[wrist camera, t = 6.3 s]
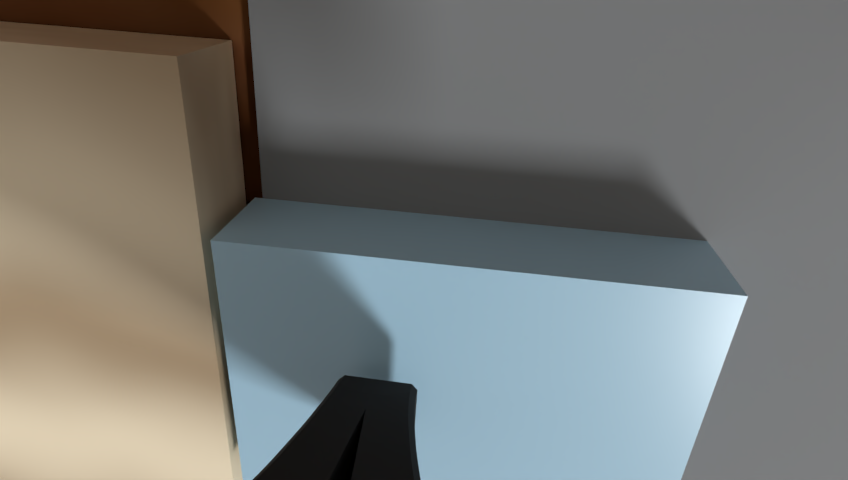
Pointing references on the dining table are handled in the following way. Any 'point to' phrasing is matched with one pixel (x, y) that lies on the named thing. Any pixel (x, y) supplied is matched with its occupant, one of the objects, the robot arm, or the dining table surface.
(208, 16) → the dining table surface
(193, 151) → the beige flat square slab
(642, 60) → the mat
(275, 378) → the light blue block
